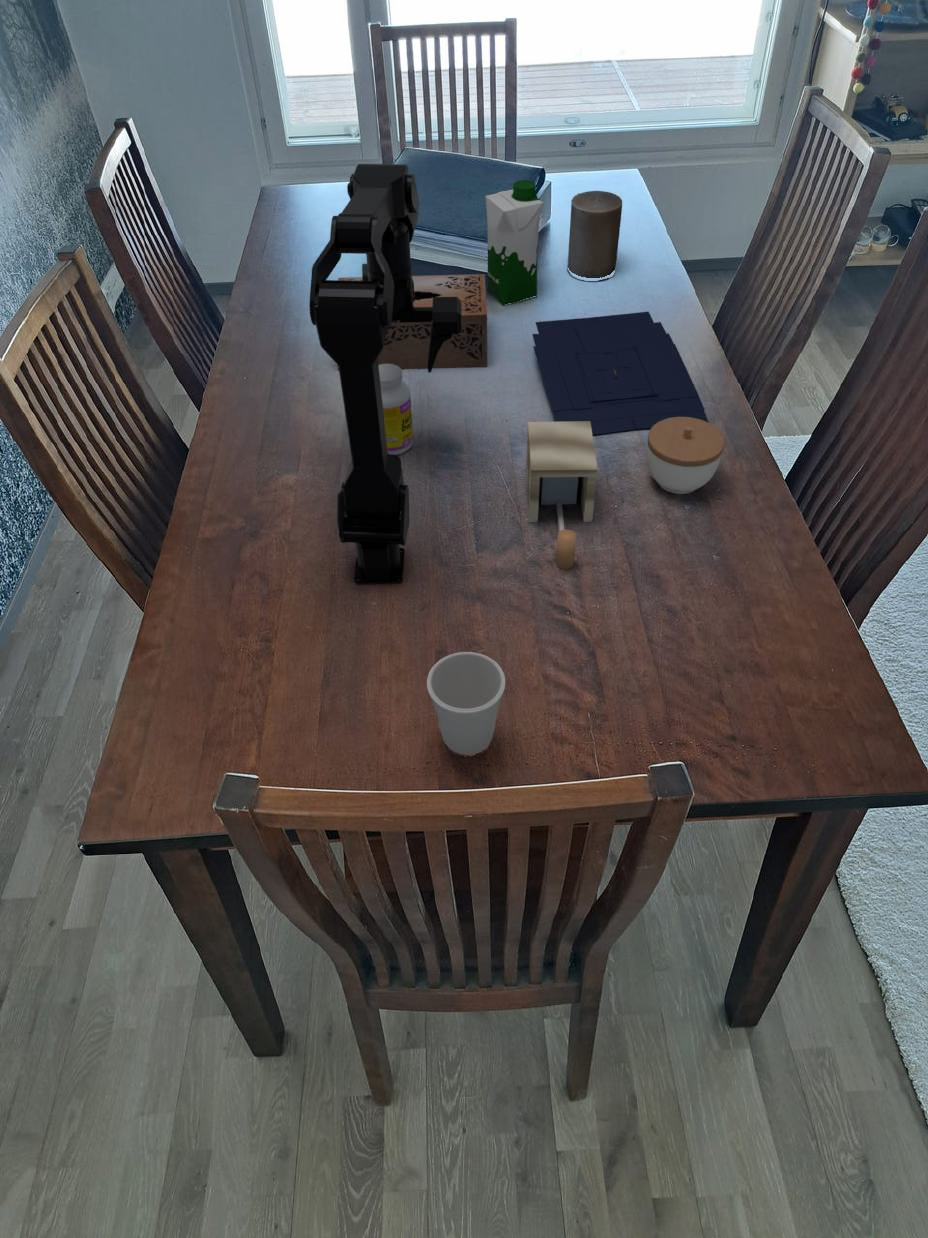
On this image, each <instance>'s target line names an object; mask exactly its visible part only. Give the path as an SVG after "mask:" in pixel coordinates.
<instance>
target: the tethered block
mask: <svg viewBox="0 0 928 1238" xmlns="http://www.w3.org/2000/svg"><path fill="white" fill-rule="evenodd" d="M578 488H579V482H578V477H540V485H539V494H540V503H541V505H556V516H557V525H558V526H557V527H558V533H557V540H556V542H557V543H556V552H555V553H556V555H555V565H556V567H558V568H559V569H560V568H561V570H570V569H571V568H573V567H574V563H575V551H576V544H577V543H576V541H577V534H576V532H575V531H574V530H571V529H565V521H564V510H563V505H576V504H577V498H578V496H577V495H578Z"/></svg>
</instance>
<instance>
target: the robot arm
mask: <svg viewBox="0 0 928 1238" xmlns="http://www.w3.org/2000/svg"><path fill="white" fill-rule="evenodd" d="M350 175H351V176H349V182H348V183H347V187H346V189H347V190H346V191H347V195H348V197H349V198H350V199H349V202H348V203H347V204H346V206H344V208H343V209H342V212H340V213H338V214H337V215H332V218H331V222H330V235H329V241H328V242H327V244H326V245H325V247H323V250H322V251H321V253H320V254H319V256H318V257H317V258H316V260H315V262H314V263H313V264H312V267H311V278H310V279H311V280H310V288H309V289H310V290H309V305H308V306H309V317H310V321H311V324H312V325H313V326H316V331H317V336H318V340H319V345H320V347H321V349H322V350H323V351H324V352H325V353H326V355H328V356H329V358H331V359H332V361H333V362H334V363H335V364H336V365H337V369H338V368H339V371H338V374H339V381H340V387H341V394H342V401H343V406H344V407H343V408H344V413H345V421H346V427H347V434H348V435H347V436H348V442H349V450H350V456H351V460H350V463H349V464H348V467H347V472H346V475H345V477H344V482H342V485H341V487H340V491H339V492H338V493H337V505H336V506H337V511H336V512H337V520H336V522H337V528H338V529H337V530H338V537H339V540H340V542H341V543H342V544H346V543H354V544H355V551H356V560H355V567H354V576H353V582H354V583H355V584H358V585H359V584H360V585H361V584H363V585H364V584H367V585H368V584H401V583H402V582H403V581H404V569H405V556H406V550H405V548H403V547H400V546H406V543H407V538H408V534H409V533H408V532H409V527H410V492H409V491H410V490H409V485H408V484H405V481H404V475H403V468H402V460H401V458H400V456H399V454H398V455H391V454H388V451H387V442H386V432H385V423H384V413H383V404H382V395H381V385H380V376H379V367H378V356H379V354H380V353H381V351H382V349H383V346H384V342H385V338H386V334H387V331H388V327H390V326H391V323H408V322H431V332H430V342H429V353H428V369H427V373H432V372H433V371H432V370H433V369H432V368H433V365H434V362H435V359H436V356H437V354H438V352H439V350H440V348H441V346H442V344H443V343H444V341H445V340H449V339H451V338H452V334H459V333H461V332H462V313H461V300H460V299H459V298H458V297H433V306H432V307H414V306H413V302H414V301H415V294H414V282H413V279H412V276H413V273H412V272H413V271H412V263H411V262H412V261H411V260H412V259H411V246H410V245H411V242H412V240H413V237H414V234H415V230H416V227H417V223H418V220H419V213H420V212H419V209H420V201H419V200H420V199H419V194H418V189H417V185H416V179H415V175H414V173H413V174H410V173H409V166H408V165H407V164H402V163H400V164H397V163H391V164H390V163H387V164H386V163H358V164H357V165H356V167H355V169H354V172H353V173H351V174H350ZM342 254H359V255H362V254H366V256H365V257H366V263H362V265H361V272H362V273H361V277H362V279H363V281H345V280H338V279H337V280H335V279H333V280H331V279H328V278H329V276H331V273H332V272H333V271H334V269H335V268H336V266H337V264H338V263H339V262H340V260H341V258H342Z"/></svg>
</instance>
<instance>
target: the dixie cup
mask: <svg viewBox="0 0 928 1238" xmlns="http://www.w3.org/2000/svg"><path fill="white" fill-rule="evenodd" d="M426 688H427V691H428V694H429V696H430V698H431V699H432V703H433V707H434V711H435V715H436V717H437V721H438V725H439V730H440V732H441V736H442V740H443V743H444V742H445V743H444V745H445V744H446V745H447V746H448V747H449V748H450V749H451V750H453V751H455V752H457V753H460V754H466V755H470V754H476V753H479V752H481V751H482V750H484V749H485V748H486V747H488V745H489V744H490V742H491V741H493V738H494V733H495V729H496V728H495V727H496V723H497V717H498V712H499V709H500V708H499V707H500V705H501V704H500V703H501V699H502V696H503V695H504V692H505V689H506V677H505V673H504V671H503V669H502V668H501V666H500V665H499V664H498V663H497V662H496V661H495V660H494V659H493V658H490V657H489V656H487V655H485V654H482V653H480V652H474V651H473V652H472V651H458V652H455V653H451V654H449V655H446V656H444V657H442V658H441V659H439V660H438V661H437V662H436V663H435V664H434V665H433V666H432V667H431V669H430V671H429V672H428V676H427V678H426ZM491 743H492V742H491ZM446 745H445V746H446ZM490 745H491V744H490ZM488 748H489V747H488Z"/></svg>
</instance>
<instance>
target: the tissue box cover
mask: <svg viewBox="0 0 928 1238" xmlns="http://www.w3.org/2000/svg"><path fill="white" fill-rule="evenodd" d="M412 279H413V282H414V294H415V301H414V302H413V306H414V307H432V306H433V297H458V298H459V299H460V300H461V313H462V332H461V333H459V334H452V338H451V339H449V340H445V341H444V343H443V344H442V346H441V348H440V350H439V352H438V354H437V356H436V359H435V362H434V365H433V368H432V370H434V369H437V370H438V369H467V368H468V369H471V368H473V369H475V368H476V369H477V368H478V369H479V368H488V313H487V312H488V310H487V292H486V291H487V290H486V289H487V287H486V274H485V273H477V274H475V273H474V274H469V273H468V274H440V275H439V274H438V275H437V274H436V275H433V274H430V275H429V274H428V275H412ZM337 280H345V281H363V279H362V276H359V277H357V276H355V277H353V276H350V277H338V278H337ZM430 332H431V322H408V323H391V326H390V327H388V331H387V334H386V338H385V342H384V346H383V349H382V351H381V353H380V354H379V356H378V365H381V364H394V365H397V366H398V367H400V368H401V370H425V369H426V370H428V353H429V342H430ZM337 371H338V372H339V368H338V367H337Z"/></svg>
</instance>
